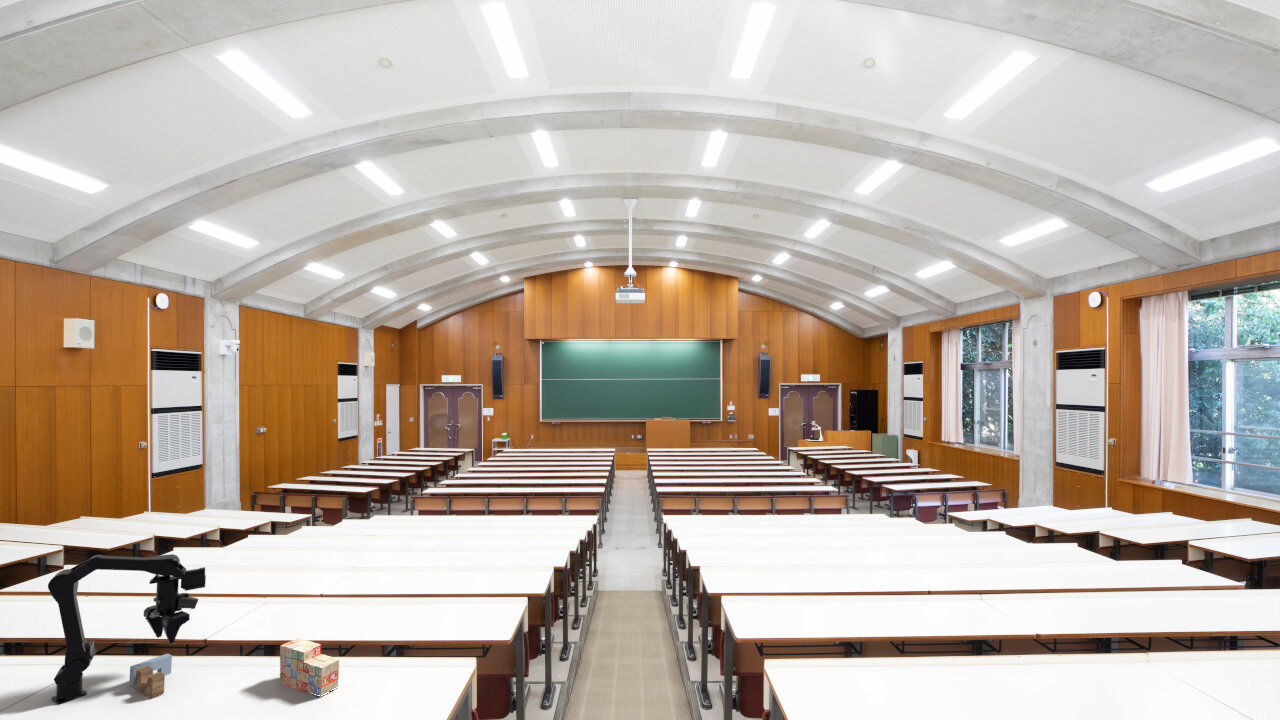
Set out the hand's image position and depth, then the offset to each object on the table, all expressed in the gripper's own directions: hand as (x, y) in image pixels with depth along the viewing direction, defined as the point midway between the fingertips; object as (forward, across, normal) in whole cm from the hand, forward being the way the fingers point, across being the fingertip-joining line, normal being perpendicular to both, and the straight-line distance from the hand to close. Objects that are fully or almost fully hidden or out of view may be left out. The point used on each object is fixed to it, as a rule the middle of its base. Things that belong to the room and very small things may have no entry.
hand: (165, 640), depth 186 cm
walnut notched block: (+11, -9, +7) cm, 16 cm away
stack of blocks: (+12, -51, -20) cm, 55 cm away
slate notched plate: (+11, 0, +4) cm, 12 cm away
